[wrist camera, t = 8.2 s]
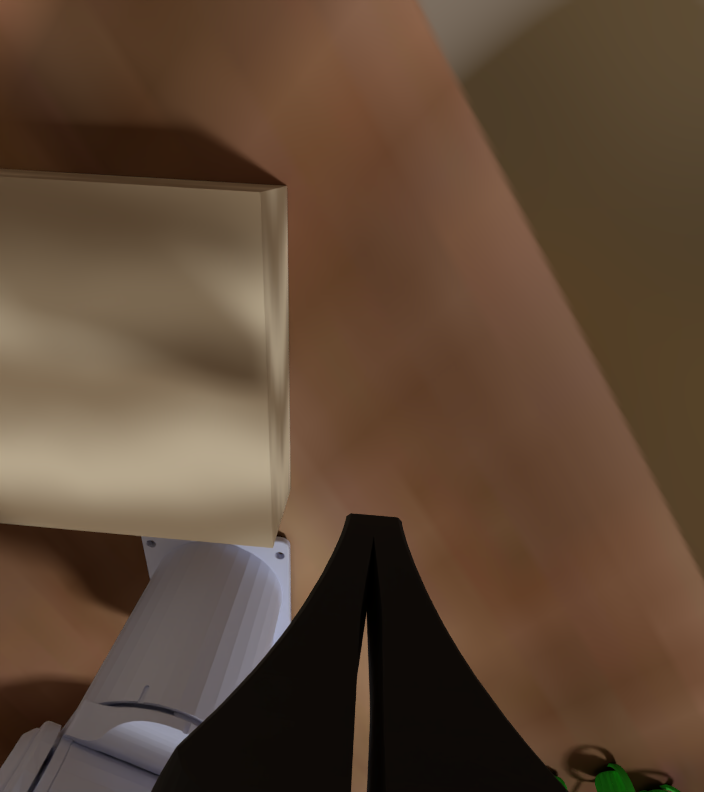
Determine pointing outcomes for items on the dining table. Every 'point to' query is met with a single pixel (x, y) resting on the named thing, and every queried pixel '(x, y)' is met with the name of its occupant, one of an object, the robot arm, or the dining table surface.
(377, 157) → the dining table surface
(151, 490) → the board
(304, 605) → the robot arm
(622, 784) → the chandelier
